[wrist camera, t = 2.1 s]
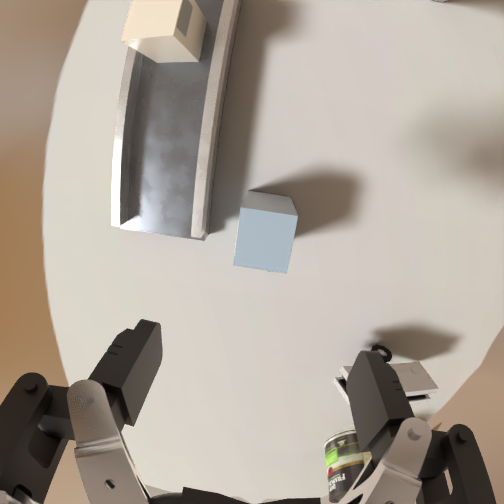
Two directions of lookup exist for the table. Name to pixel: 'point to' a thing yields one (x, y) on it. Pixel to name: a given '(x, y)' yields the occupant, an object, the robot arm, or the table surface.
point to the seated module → (165, 30)
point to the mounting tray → (172, 133)
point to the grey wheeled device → (409, 375)
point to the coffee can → (343, 463)
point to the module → (265, 232)
